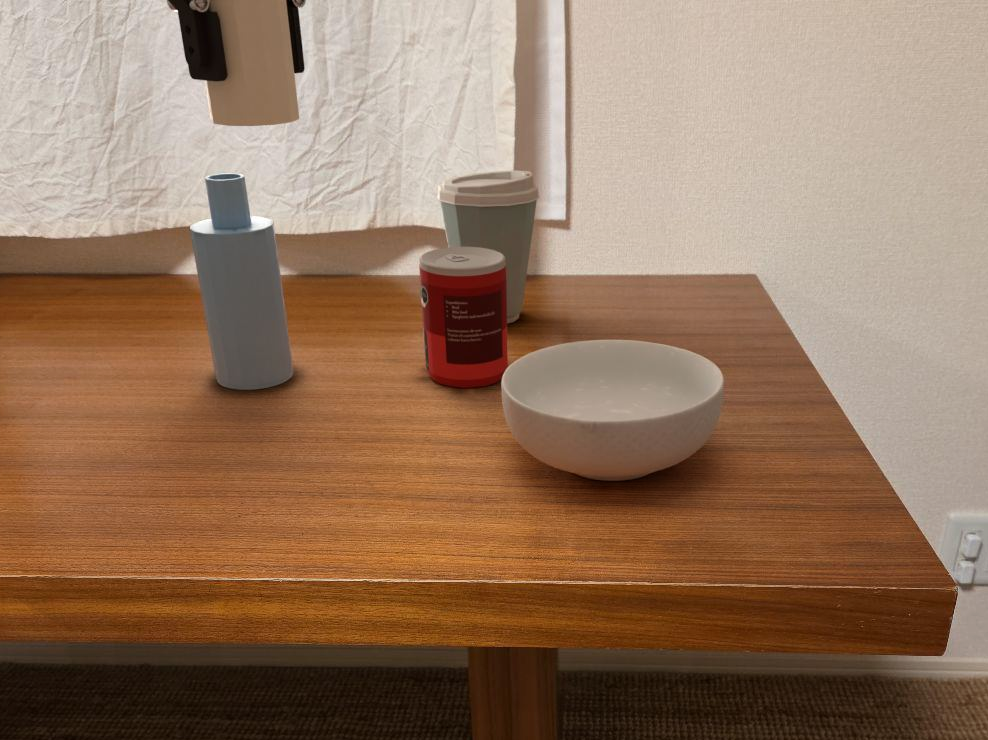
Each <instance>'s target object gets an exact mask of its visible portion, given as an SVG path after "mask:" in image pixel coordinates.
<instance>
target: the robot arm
mask: <svg viewBox="0 0 988 740" xmlns="http://www.w3.org/2000/svg"><path fill="white" fill-rule="evenodd" d="M306 2H307V0H286V4H287V13H288V22H289V30H290V39H291V48H292V57H293V66H294V74H302V73H304V72H305V57H304V48H303V40H302V31H301V20H300V11H299V9H301V8H304V6H305V5H306ZM166 3H167V6H168V7H169V8H170V10H172V11H173V12H177V15H178V23H179V30H180V34H181V35H180V36H181V40H182V47H183V52H184V58H185V61H186V64H187V66H188V67H187V68H188V73H189V76H190V77H191V79H192V80H195V81H196V80H198V81H205V80H206V81H216V82H218V81H225V80H226V78H227V67H226V60H225V53H224V46H223V39H222V32H221V25H220V19H219V16H218V14H217V12H209V3H210V0H166Z"/></svg>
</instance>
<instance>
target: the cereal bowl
mask: <svg viewBox="0 0 988 740" xmlns="http://www.w3.org/2000/svg"><path fill="white" fill-rule="evenodd" d="M500 381H501V382H500V388H501V401H502V402H501V404H502V410H503V415H504V418H505V423H506V425H507V427H508V430H509V431H510V433H511V434H512V437H513V438H514V439H515V440H516V442H517V444H519V445H520V446H521V448H522V449H523V450H525V452H526V453H528V454H529V455H531V456H532V458H534V459H537V460H538V461H539V462H541V463H544V464H545V465H547V466H549V467H550V466H551V467H553V468H554V469H558V470H561V471H563V472H569V473H571V474H575V475H577V476H579V477H583V478H586V479H590V480H595V481H596V480H597V481H605V482H619V481H620V482H622V481H628V480H634V479H635V480H636V479H639V478H642V477H645V476H648V475H650V474H652V473H655V472H658V471H662V470H664V469H668V468H671V467H672V466H675V465H678V464H679V463H681V462H683V461H686V459H689V458H690V457H691V456H692V455H694V454H695V453H697V451H699V450H700V449H702V448H703V446H704V445H705V444H706V443H707V441H708V440H709V439H710V438H711V437H712V435H713V433H714V432H715V430H716V427H717V426H718V423H719V420H720V417H721V414H722V410H723V406H724V405H723V404H724V403H723V402H724V395H725V394H724V392H725V378H724V375H723V373H722V370H721V369H720V368H719V366H717V364H715V363H714V362H713V361H711V360H710V359H708V358H706V357H705V356H702V355H701V354H698V353H695V352H693V351H691V350H688V349H684V348H681V347H677V346H673V345H668V344H664V343H658V342H652V341H651V342H650V341H643V340H631V339H591V340H580V341H573V342H565V343H559V344H555V345H551V346H547V347H544V348H540V349H538V350H535V351H533V352H529V353H528V354H524V355H523V356H521V357H519V358H518V359H516V360H515V361H513V362H512V363H511V364H509V365H508V368H507V369H506V371H505V372H504V374H503V376H502V379H501V380H500Z"/></svg>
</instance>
